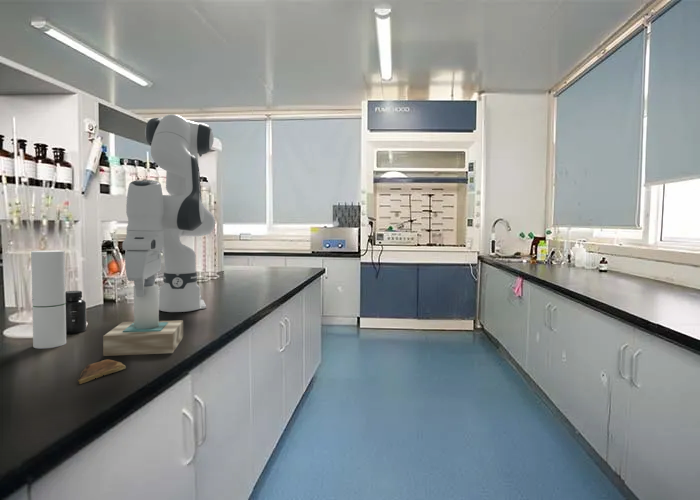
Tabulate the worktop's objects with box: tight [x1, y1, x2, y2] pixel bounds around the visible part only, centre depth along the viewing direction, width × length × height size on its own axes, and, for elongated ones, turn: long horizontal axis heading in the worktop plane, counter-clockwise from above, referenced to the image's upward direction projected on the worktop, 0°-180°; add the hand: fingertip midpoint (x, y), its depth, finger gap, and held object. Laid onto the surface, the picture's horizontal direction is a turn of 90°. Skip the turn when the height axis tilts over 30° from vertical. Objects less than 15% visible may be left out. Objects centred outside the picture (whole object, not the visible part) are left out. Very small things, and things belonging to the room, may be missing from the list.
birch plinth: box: [102, 319, 184, 357], centre depth 111 cm, size 15×16×5 cm
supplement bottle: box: [65, 290, 87, 335], centre depth 123 cm, size 7×7×12 cm
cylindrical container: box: [30, 249, 67, 350], centre depth 109 cm, size 7×7×25 cm
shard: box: [77, 358, 127, 385], centre depth 90 cm, size 11×8×2 cm
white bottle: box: [133, 279, 160, 329], centre depth 110 cm, size 6×6×13 cm
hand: (145, 293), depth 110 cm, fingers open, 8 cm apart
